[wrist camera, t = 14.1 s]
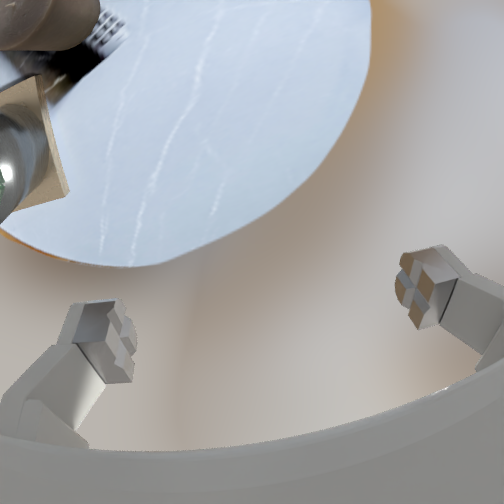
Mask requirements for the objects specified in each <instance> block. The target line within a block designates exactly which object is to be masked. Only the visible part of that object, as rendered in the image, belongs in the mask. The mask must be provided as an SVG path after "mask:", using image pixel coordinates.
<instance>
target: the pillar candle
mask: <svg viewBox="0 0 504 504" xmlns="http://www.w3.org/2000/svg"><path fill="white" fill-rule="evenodd" d="M99 14H100V2H99V0H0V51H11V50H17V51H18V50H40V51H61V50H66V49H70V48H71V47H74V46H76V45H78V44H79V43H81V42H82V41H83V40H84V39H86V38H87V37H88V36H89V34H90V33H91V32H92V30H93V28H94V26H95V24H96V23H97V21H98V18H99Z"/></svg>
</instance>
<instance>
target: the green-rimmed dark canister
mask: <svg viewBox="0 0 504 504" xmlns="http://www.w3.org/2000/svg"><path fill="white" fill-rule="evenodd" d="M69 192H70V190H69V187H68V184H67V181H66V177H65V174H64V171H63V167H62V164H61V160H60V157H59V153H58V149H57V146H56V142H55V138H54V134H53V130H52V126H51V121H50V117H49V112H48V108H47V103H46V98H45V92H44V87H43V81H42V75H36V76H33V77H31V78H28V79H26V80H24V81H22V82H20V83H18V84H16V85H14V86H12V87H10V88H8V89H6V90H4V91H2V92H1V93H0V224H1V223H2V222H3V221H4V220H5V219H6V218H7V217H8V216H9V215H10V214H11V213H12V212H15V211H18V210H21V209H24V208H28V207H31V206H35V205H38V204H41V203H45V202H49V201H52V200H56V199H59V198H63V197H65V196H66V195H67V194H68V193H69Z"/></svg>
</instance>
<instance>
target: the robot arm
mask: <svg viewBox="0 0 504 504" xmlns="http://www.w3.org/2000/svg"><path fill="white" fill-rule="evenodd" d="M399 265H400V267H401V268H402V270H401V271H400V272H399V273H398V275H397V276H396V280H395V292H396V295H397V298H398V300H399V302H400V303H401V305H403V306H405V307H406V308H408V309H409V313H408V316H409V317H410V319H411V320H412V322H413V323H414V325H415V327H416V328H417V330H421V329H424V328H428V327H431V326H434V325H437V324H440V326H441V327H443V328H444V329H446V330H447V331H448V332H450V333H451V334H453V335H454V336H456V337H457V338H458V339H460V340H461V341H463V342H464V343H465V344H467V345H468V346H470V347H471V348H472V349H474V350H475V351H477V352H478V353H480V354H481V355H482V356H481V358H480V359H479V361H478V363H477V364H476V366H475V370H476V372H477V373H475V374H473V375H471V376H469V377H467V378H465V379H463V380H461V381H459V382H456V383H455V384H452V385H450V386H448V387H446V388H443V389H441V390H439V391H437V392H434V393H432V394H430V395H427V396H425V397H422V398H420V399H417V400H415V401H412V402H410V403H407V404H404V405H402V406H399V407H396V408H394V409H391V410H388V411H385V412H382V413H379V414H376V415H373V416H370V417H367V418H364V419H360V420H357V421H353V422H350V423H347V424H343V425H340V426H336V427H332V428H328V429H324V430H320V431H316V432H311V433H307V434H302V435H298V436H294V437H288V438H283V439H278V440H272V441H266V442H260V443H253V444H246V445H239V446H230V447H221V448H211V449H199V450H183V451H150V452H149V451H144V452H142V451H111V450H96V449H89V444H88V442H87V441H86V440H85V439H83V438H82V437H81V436H80V435H79V434H77V433H76V430H77V429H78V427H79V425H80V424H81V422H82V421H83V419H84V418H85V416H86V415H87V413H88V412H89V410H90V409H91V407H92V406H93V404H94V403H95V401H96V400H97V399H98V397H99V396H100V394H101V393H102V391H103V390H104V388H105V387H106V384H115V383H129V382H132V380H133V372H134V364H135V363H134V361H133V360H132V358H131V356H132V355H133V354H134V353H135V352H136V349H137V334H136V330H135V327H134V324H133V322H132V320H131V319H130V318H128V317H127V316H125V311H126V307H125V305H124V303H123V301H122V300H121V299H119V298H115V299H105V300H95V301H88V302H77V303H73V304H72V305H71V306H70V309H69V311H68V314H67V316H66V319H65V321H64V324H63V327H62V330H61V332H60V335H59V338H58V341H57V344H56V345H51V347H49V348H48V349H47V350H46V351H45V352H44V353H43V354H42V355H41V356H40V357H39V358H38V359H37V360H36V361H35V362H34V363H33V364H32V365H31V366H30V367H29V369H28V370H26V371H25V373H23V374H22V375H21V377H20V378H19V379H18V380H17V381H16V382H15V383H14V384H13V385H12V386H11V387H10V388H9V389H8V390H7V391H6V392H5V393H4V394H3V397H2V400H1V403H0V504H504V286H503V285H501V284H498V283H496V282H494V281H492V280H490V279H488V278H486V277H483V276H481V275H479V274H477V273H475V274H473V273H472V272H471V271H470V270H469V269H468V268H467V267H466V266H465V265H464V264H463V263H462V262H461V261H460V260H459V259H458V258H457V257H456V256H455V255H454V253H452V251H451V250H449V248H448V247H446V246H444V245H437V246H433V247H429V248H425V249H420V250H416V251H410V252H405V253H403V255H402V256H401V259H400V263H399Z"/></svg>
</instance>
